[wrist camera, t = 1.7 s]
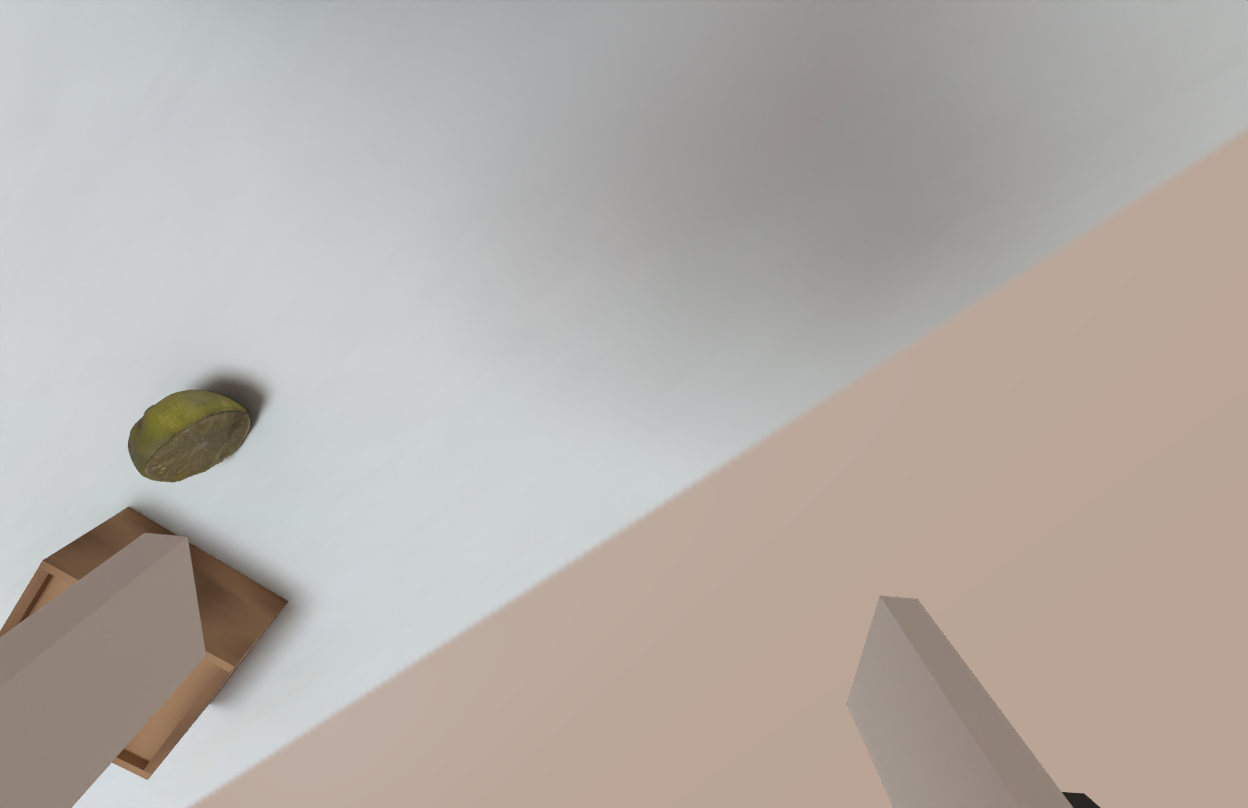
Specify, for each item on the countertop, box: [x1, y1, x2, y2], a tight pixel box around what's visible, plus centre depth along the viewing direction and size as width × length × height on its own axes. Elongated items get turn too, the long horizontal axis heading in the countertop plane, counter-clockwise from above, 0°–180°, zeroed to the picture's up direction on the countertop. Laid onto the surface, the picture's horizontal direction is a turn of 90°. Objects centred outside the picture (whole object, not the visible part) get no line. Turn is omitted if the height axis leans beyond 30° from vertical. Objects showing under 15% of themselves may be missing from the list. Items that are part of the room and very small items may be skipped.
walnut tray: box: [0, 507, 288, 780], centre depth 33 cm, size 10×10×6 cm
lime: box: [128, 390, 250, 482], centre depth 29 cm, size 4×5×5 cm
